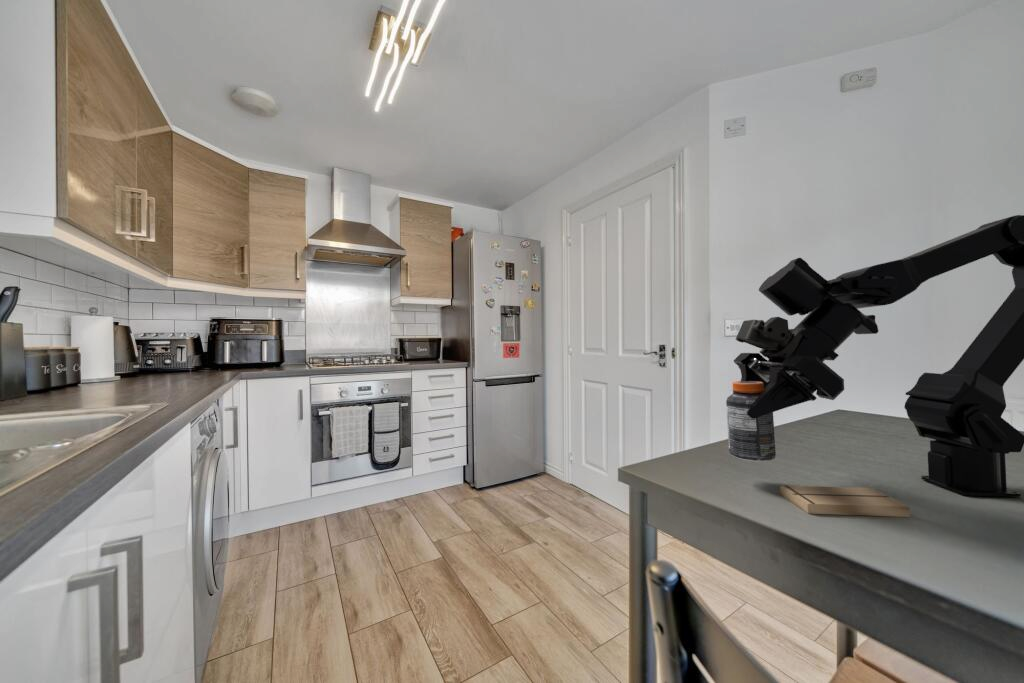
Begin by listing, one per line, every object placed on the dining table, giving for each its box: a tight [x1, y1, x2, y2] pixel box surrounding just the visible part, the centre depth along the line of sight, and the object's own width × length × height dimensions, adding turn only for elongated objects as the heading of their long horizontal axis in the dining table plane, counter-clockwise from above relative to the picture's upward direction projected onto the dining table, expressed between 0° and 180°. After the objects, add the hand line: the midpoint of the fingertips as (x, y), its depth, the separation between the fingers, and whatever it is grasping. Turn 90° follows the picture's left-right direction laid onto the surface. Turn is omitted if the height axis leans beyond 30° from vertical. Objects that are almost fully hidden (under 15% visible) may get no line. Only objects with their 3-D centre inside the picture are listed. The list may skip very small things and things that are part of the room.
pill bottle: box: [725, 380, 777, 462], centre depth 56 cm, size 6×6×11 cm
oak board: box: [779, 485, 911, 518], centre depth 48 cm, size 11×6×1 cm, turn 81°
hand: (739, 412), depth 57 cm, fingers closed on pill bottle, 6 cm apart
